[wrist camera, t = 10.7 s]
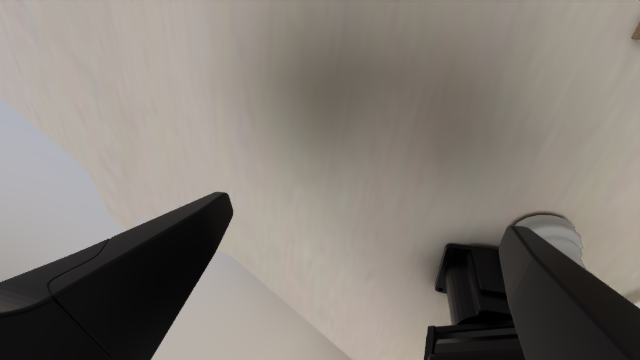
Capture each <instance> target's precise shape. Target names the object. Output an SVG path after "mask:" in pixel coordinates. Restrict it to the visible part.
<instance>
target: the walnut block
mask: <svg viewBox="0 0 640 360" xmlns="http://www.w3.org/2000/svg"><path fill="white" fill-rule="evenodd" d="M632 39H639V40H640V23H639V25H638V27H637V29H636V31H635V32H634V34H633V36H632Z"/></svg>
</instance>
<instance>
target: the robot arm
mask: <svg viewBox="0 0 640 360" xmlns="http://www.w3.org/2000/svg"><path fill="white" fill-rule="evenodd" d="M232 216H233V208H232V205H231V201H230V198H229V195H228V194H227V193H225V192H214V193H212V194H210V195H207V196H205V197H203V198H200V199H198V200H196V201H194V202H191V203H189V204H187V205H184V206H182V207H180V208H178V209H175V210H173V211H171V212H168V213H166V214H164V215H162V216H159V217H157V218H155V219H152V220H150V221H148V222H146V223H143V224H141V225H139V226H136V227H134V228H132V229H130V230H127V231H125V232H123V233H120V234H118V235H116V236H114V237H112V238H111V239H107V240H104V241H102V242H100V243H98V244H95V245H93V246H91V247H88V248H86V249H83V250H81V251H79V252H77V253H74V254H71V255H69V256H67V257H64V258H62V259H59V260H56V261H54V262H51V263H49V264H46V265H44V266H41V267H38V268H36V269H33V270H31V271H28V272H25V273H23V274H20V275H18V276H15V277H13V278H10V279H8V280H5V281H2V282H0V360H151V358H152V357H153V355H154V353H155V352H156V350H157V349H158V347H159V345H160V344H161V342H162V340H163V339H164V337H165V335H166V333H167V332H168V330H169V329H170V327H171V325H172V324H173V322H174V320H175V319H176V317H177V315H178V314H179V312H180V310H181V309H182V307H183V305H184V304H185V302H186V300H187V299H188V297H189V295H190V294H191V292H192V291H193V288H194V287H195V286H196V284H197V282H198V281H199V279H200V277H201V275H202V274H203V272H204V271H205V269H206V267H207V265H208V264H209V262H210V261H211V259H212V257H213V256H214V254H215V252H216V250H217V248H218V246H219V244H220V242H221V240H222V238H223V236H224V234H225V232H226V229H227V227H228V225H229V223H230V221H231V219H232ZM451 249H453V250H451ZM435 290H436V291H437V292H441V293H446V294H447V296H448V303H449V309H450V316H451V322H452V325H448V326H438V327H436V326H428V332H427V337H426V346H425V355H424V360H640V308H638V307H637V306H635V305H634V304H633V303H631V302H630V301H629V300H627V299H626V298H624V297H623V296H622V295H620V294H619V293H618V292H616V291H615V290H613V289H612V288H611V287H609V286H608V285H607V284H605V283H604V282H602V281H601V280H600V279H598V278H597V277H596V276H594V275H593V274H591V273H590V272H589V271H587V270H586V269H585V268H583V267H582V266H580V265H579V264H578V263H576V262H575V261H574V260H572V259H571V258H569V257H568V256H567V255H565V254H564V253H563V252H561V251H560V250H558V249H557V248H556V247H554V246H553V245H552V244H550V243H549V242H547V241H546V240H545V239H543V238H542V237H540V236H539V235H538V234H536V233H535V232H534V231H532V230H531V229H529V228H528V227H525V226H518V225H510V226H508V227H507V229H506V231H505V233H504V236H503V238H502V240H501V243H500V245H499V251H498V250H490V249H483V248H476V247H468V246H461V245H454V244H449V245H447V246H446V247H445V250H444V254H443V258H442V261H441V265H440V268H439V272H438V276H437V279H436V283H435Z"/></svg>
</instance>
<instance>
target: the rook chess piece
mask: <svg viewBox="0 0 640 360" xmlns="http://www.w3.org/2000/svg"><path fill="white" fill-rule="evenodd" d="M516 225H518V226H525V227H528V228H529V229H531V230H532V231H534V232H535V233H536V234H538V235H539V236H540V237H542V238H543V239H545V240H546V241H547V242H549V243H550V244H552V245H553V246H554V247H556V248H557V249H558V250H560V251H561V252H563V253H564V254H565V255H567V256H568V257H569V258H571V259H572V260H574V261H575V262H576V263H578V264H579V265H580V266H582V267H583V268H585V266H584V264H583V262H582V260H581V257H582V251H581V250H582V248H583V247H582V242H581V238H580V235H579V234H578V233H577V232H576V230H575V227H574V226H573V225H572V224H571V223H570V222H569V221H568V220H566V219H563V218H560V217H557V216H552V215H536V216H531V217H527V218H525V219H523V220H521V221H519V222H518V223H517V224H516ZM585 269H586V268H585Z"/></svg>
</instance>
